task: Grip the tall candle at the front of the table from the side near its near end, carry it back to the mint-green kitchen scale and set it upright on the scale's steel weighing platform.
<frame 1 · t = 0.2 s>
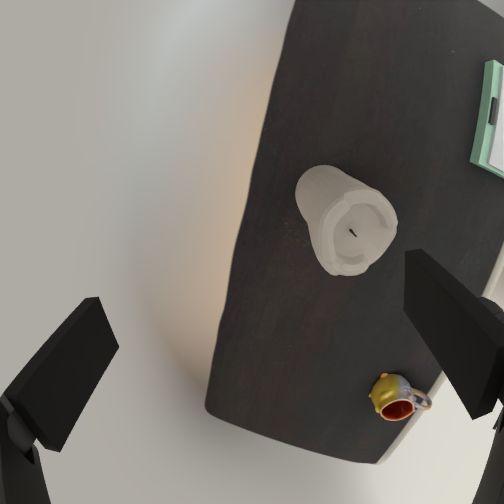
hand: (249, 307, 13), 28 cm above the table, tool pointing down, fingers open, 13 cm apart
scale: (501, 122, 33), on the table
candle: (346, 205, 40), on the table
mug: (398, 386, 49), on the table
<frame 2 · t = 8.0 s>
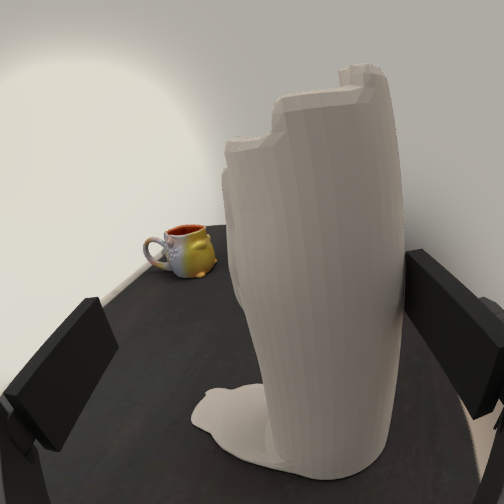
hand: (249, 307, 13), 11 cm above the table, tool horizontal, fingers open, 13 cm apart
candle: (282, 427, 19), on the table, touching gripper
mug: (181, 271, 49), on the table
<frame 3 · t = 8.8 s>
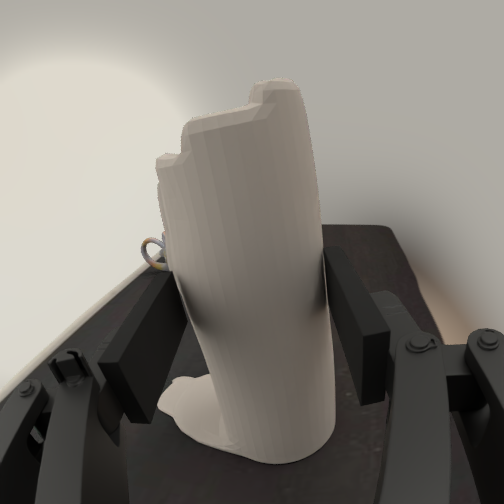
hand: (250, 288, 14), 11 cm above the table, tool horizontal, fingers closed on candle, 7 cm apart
candle: (238, 413, 21), on the table, touching gripper
mug: (179, 272, 49), on the table
when the fingers open (14 cm above the table, at t = 18.2 s): candle stays where it is, resting on scale.
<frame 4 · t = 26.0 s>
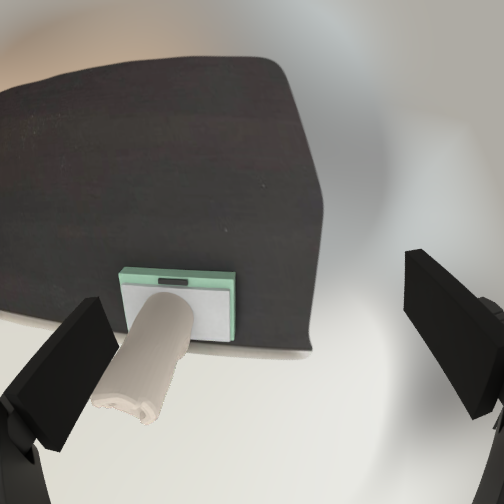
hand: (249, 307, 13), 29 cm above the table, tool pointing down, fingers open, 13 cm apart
scale: (179, 300, 46), on the table
candle: (166, 333, 44), point 3 cm above the table, touching scale
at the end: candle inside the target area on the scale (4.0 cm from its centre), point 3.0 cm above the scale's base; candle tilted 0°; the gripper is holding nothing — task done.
